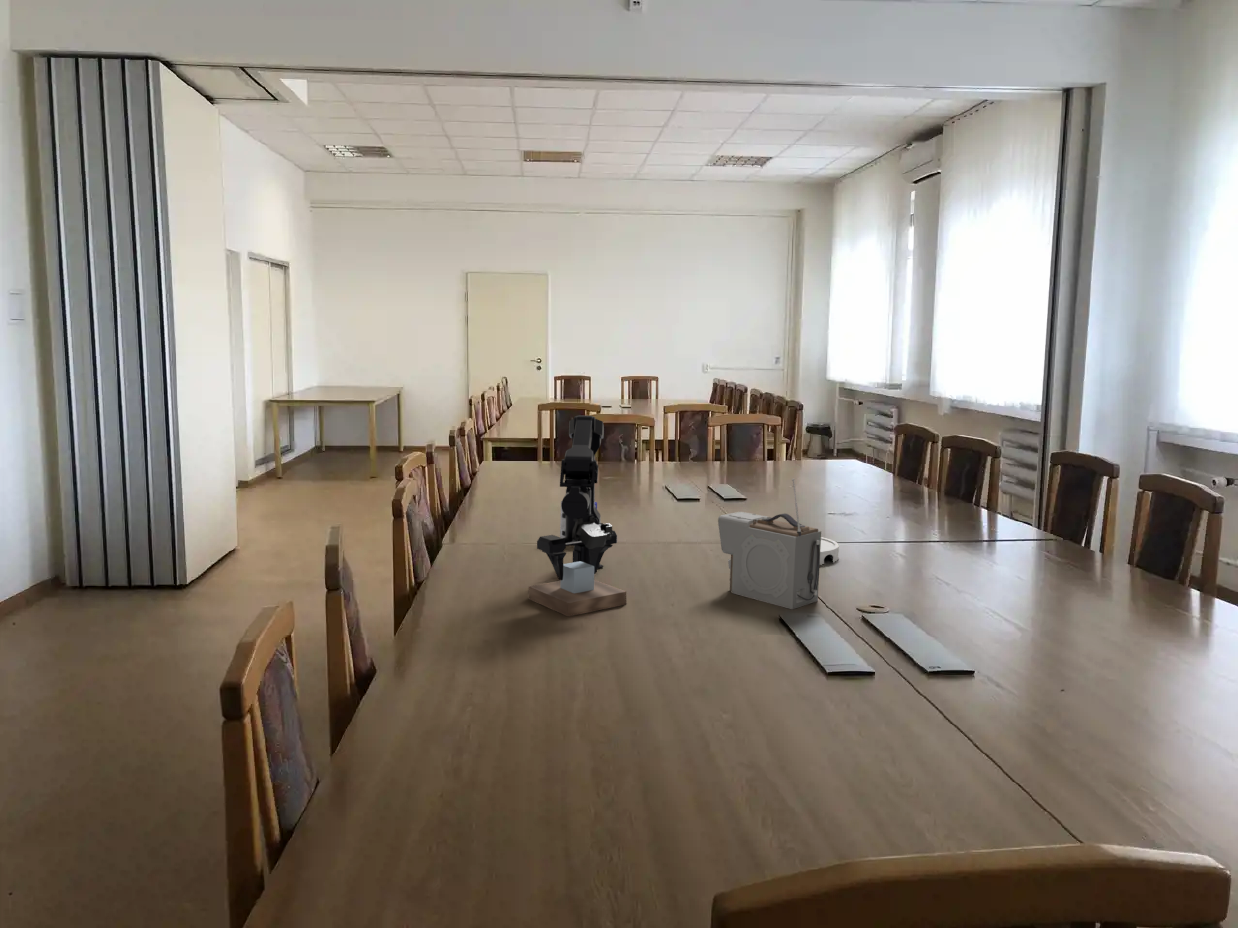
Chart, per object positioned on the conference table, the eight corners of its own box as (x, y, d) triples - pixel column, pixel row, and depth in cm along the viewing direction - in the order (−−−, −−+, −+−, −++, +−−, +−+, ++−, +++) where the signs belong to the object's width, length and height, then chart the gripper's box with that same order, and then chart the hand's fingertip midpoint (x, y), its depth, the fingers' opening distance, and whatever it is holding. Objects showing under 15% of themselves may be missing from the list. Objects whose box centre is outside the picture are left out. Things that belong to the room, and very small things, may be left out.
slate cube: (580, 584, 211) (580, 561, 210) (594, 589, 207) (594, 566, 206) (560, 587, 208) (560, 564, 207) (574, 593, 203) (574, 569, 203)
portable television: (741, 580, 228) (746, 462, 224) (822, 601, 211) (829, 474, 207) (710, 589, 220) (715, 467, 215) (792, 611, 203) (799, 479, 199)
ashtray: (832, 548, 266) (833, 535, 266) (844, 568, 244) (844, 553, 243) (752, 545, 268) (753, 532, 268) (756, 564, 246) (757, 550, 245)
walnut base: (585, 588, 219) (585, 575, 218) (626, 604, 206) (626, 591, 206) (528, 598, 209) (528, 586, 208) (568, 616, 196) (568, 603, 196)
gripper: (564, 520, 193) (563, 591, 195) (632, 511, 204) (631, 578, 206) (535, 511, 201) (535, 580, 203) (603, 503, 213) (602, 568, 215)
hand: (577, 576), depth 207 cm, fingers open, 9 cm apart
